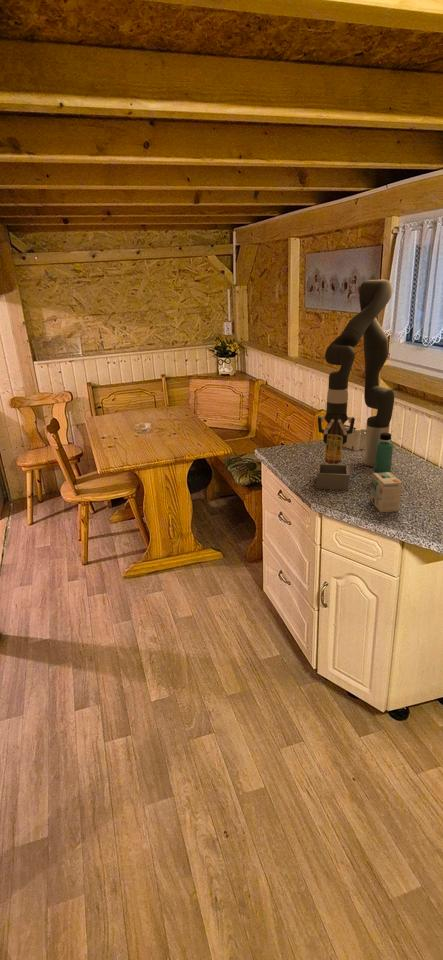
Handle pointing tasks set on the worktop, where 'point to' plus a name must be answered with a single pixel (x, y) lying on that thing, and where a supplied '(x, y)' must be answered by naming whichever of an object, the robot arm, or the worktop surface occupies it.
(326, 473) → the bottle holder
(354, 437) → the hinge
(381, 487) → the light bulb box
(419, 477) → the worktop surface
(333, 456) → the sauce bottle
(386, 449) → the beverage bottle
